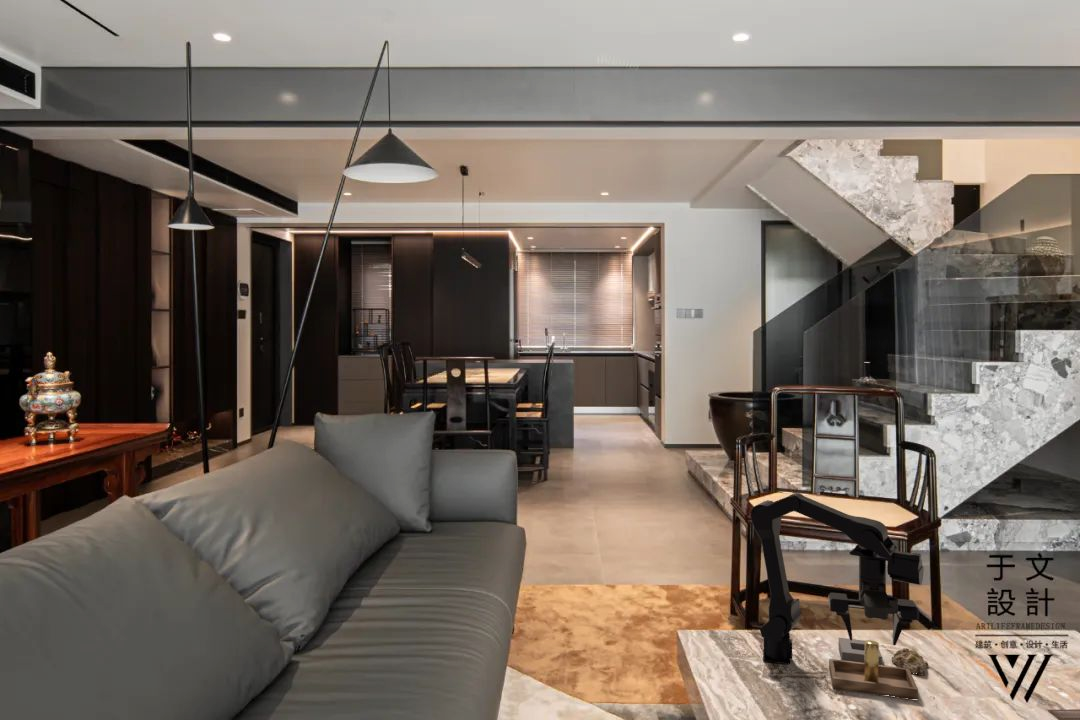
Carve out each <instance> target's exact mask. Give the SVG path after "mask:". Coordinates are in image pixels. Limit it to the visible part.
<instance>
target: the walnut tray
mask: <svg viewBox="0 0 1080 720" xmlns="http://www.w3.org/2000/svg"><path fill="white" fill-rule="evenodd" d="M828 669H829V676H830V681H831V682H830V683H831V686H832V689H833V690H838V691H845V692H853V693H860V694H866V695H867V694H868V695H873V694H875V695H874V696H880V695H889V696H895V697H899V698H898V699H902V698H908V699H907V700H909V699H918V700H919V688H918V686H917V684H916V681H915V679H914V677H913V675H912V674H913V673H911V672H910V670H909V669H908V668H900V667H898V666H892V665H883V664H882V665H879V670H878V683H877V682H869V681H864V663H861V662H853V661H845V660H841V659H836V658H828ZM895 697H894V698H895Z"/></svg>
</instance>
